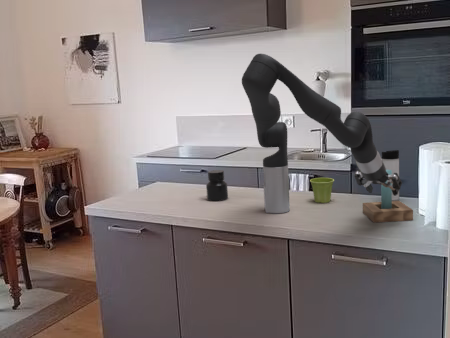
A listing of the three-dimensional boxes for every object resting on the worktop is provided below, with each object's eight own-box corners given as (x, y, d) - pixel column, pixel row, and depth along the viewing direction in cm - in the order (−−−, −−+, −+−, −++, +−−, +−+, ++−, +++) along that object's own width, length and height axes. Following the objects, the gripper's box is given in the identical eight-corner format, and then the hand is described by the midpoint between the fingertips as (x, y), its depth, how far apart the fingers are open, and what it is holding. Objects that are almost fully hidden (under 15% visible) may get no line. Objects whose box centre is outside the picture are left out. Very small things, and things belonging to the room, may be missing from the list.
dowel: (383, 217, 166) (383, 171, 164) (379, 215, 170) (379, 169, 167) (393, 217, 167) (393, 170, 164) (389, 214, 170) (389, 169, 167)
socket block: (373, 222, 162) (373, 212, 161) (362, 212, 175) (362, 202, 174) (413, 220, 162) (413, 209, 161) (399, 210, 174) (399, 200, 174)
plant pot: (339, 202, 191) (339, 180, 190) (318, 205, 188) (318, 183, 186) (326, 197, 200) (325, 176, 198) (306, 200, 196) (305, 179, 195)
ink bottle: (218, 195, 216) (216, 168, 213) (232, 197, 209) (231, 170, 207) (202, 200, 209) (200, 172, 207) (216, 202, 203) (214, 174, 201)
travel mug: (391, 204, 183) (391, 151, 180) (378, 200, 189) (377, 149, 186) (403, 201, 186) (403, 149, 183) (390, 198, 192) (390, 147, 189)
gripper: (345, 171, 156) (360, 199, 167) (388, 174, 147) (401, 204, 158) (352, 152, 160) (366, 181, 170) (395, 155, 151) (407, 185, 161)
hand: (383, 192), depth 164 cm, fingers open, 8 cm apart
